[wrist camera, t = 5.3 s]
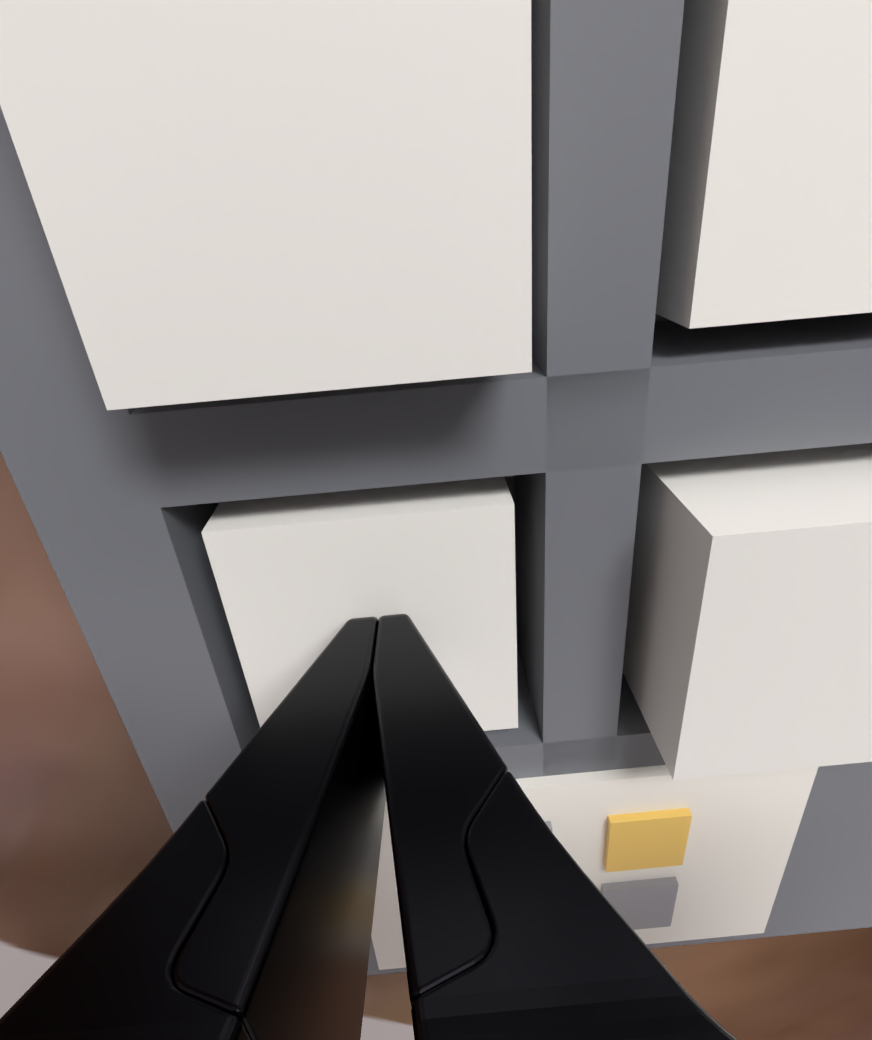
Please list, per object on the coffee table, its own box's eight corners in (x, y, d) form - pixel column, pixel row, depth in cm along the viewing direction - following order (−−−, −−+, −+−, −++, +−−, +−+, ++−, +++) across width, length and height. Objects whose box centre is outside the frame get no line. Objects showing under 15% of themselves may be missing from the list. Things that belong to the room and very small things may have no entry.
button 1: (483, -93, 6) (530, -264, 4) (495, 323, 8) (531, 372, 6) (80, -59, 6) (-111, -212, 4) (190, 350, 8) (107, 411, 6)
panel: (1182, -445, 7) (2027, -1145, 3) (797, 785, 16) (904, 942, 13) (-111, -340, 6) (-681, -937, 3) (274, 834, 16) (238, 1007, 13)
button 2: (489, 435, 10) (514, 504, 8) (496, 628, 12) (518, 728, 10) (246, 457, 10) (200, 532, 8) (293, 647, 12) (267, 751, 10)
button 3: (979, -92, 7) (1242, -226, 5) (885, 272, 9) (1042, 297, 7) (641, -64, 7) (749, -184, 5) (618, 296, 9) (688, 328, 7)
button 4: (905, 427, 9) (1072, 503, 7) (839, 640, 11) (952, 754, 9) (635, 451, 9) (713, 536, 7) (617, 660, 11) (673, 780, 8)
